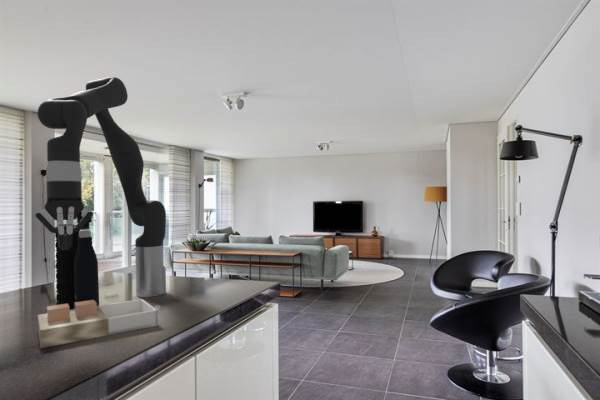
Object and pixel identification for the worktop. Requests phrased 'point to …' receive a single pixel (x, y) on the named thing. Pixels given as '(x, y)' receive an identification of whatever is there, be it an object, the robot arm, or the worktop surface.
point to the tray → (129, 316)
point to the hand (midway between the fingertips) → (65, 249)
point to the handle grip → (66, 271)
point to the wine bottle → (86, 267)
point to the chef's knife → (157, 308)
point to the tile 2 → (85, 308)
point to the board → (72, 328)
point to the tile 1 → (58, 313)
